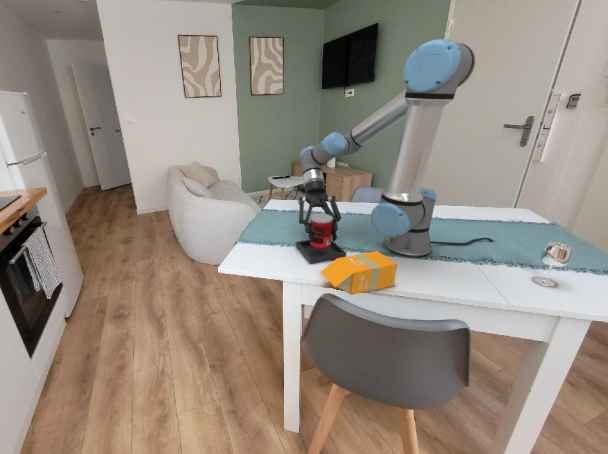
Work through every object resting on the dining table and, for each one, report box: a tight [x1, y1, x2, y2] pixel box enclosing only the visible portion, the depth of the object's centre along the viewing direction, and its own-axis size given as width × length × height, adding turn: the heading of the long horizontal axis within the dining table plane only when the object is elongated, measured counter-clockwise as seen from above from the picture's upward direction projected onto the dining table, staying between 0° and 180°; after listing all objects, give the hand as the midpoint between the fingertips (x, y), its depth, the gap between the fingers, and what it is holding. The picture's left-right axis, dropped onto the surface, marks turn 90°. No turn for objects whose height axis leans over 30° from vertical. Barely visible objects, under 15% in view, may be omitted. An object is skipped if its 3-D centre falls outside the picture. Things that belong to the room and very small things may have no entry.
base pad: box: [295, 239, 347, 265], centre depth 108 cm, size 14×14×2 cm
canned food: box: [310, 213, 333, 250], centre depth 105 cm, size 8×8×11 cm
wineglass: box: [533, 241, 573, 287], centre depth 83 cm, size 6×6×12 cm
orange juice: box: [319, 250, 398, 296], centre depth 87 cm, size 8×9×20 cm
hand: (323, 240), depth 103 cm, fingers closed on canned food, 8 cm apart
